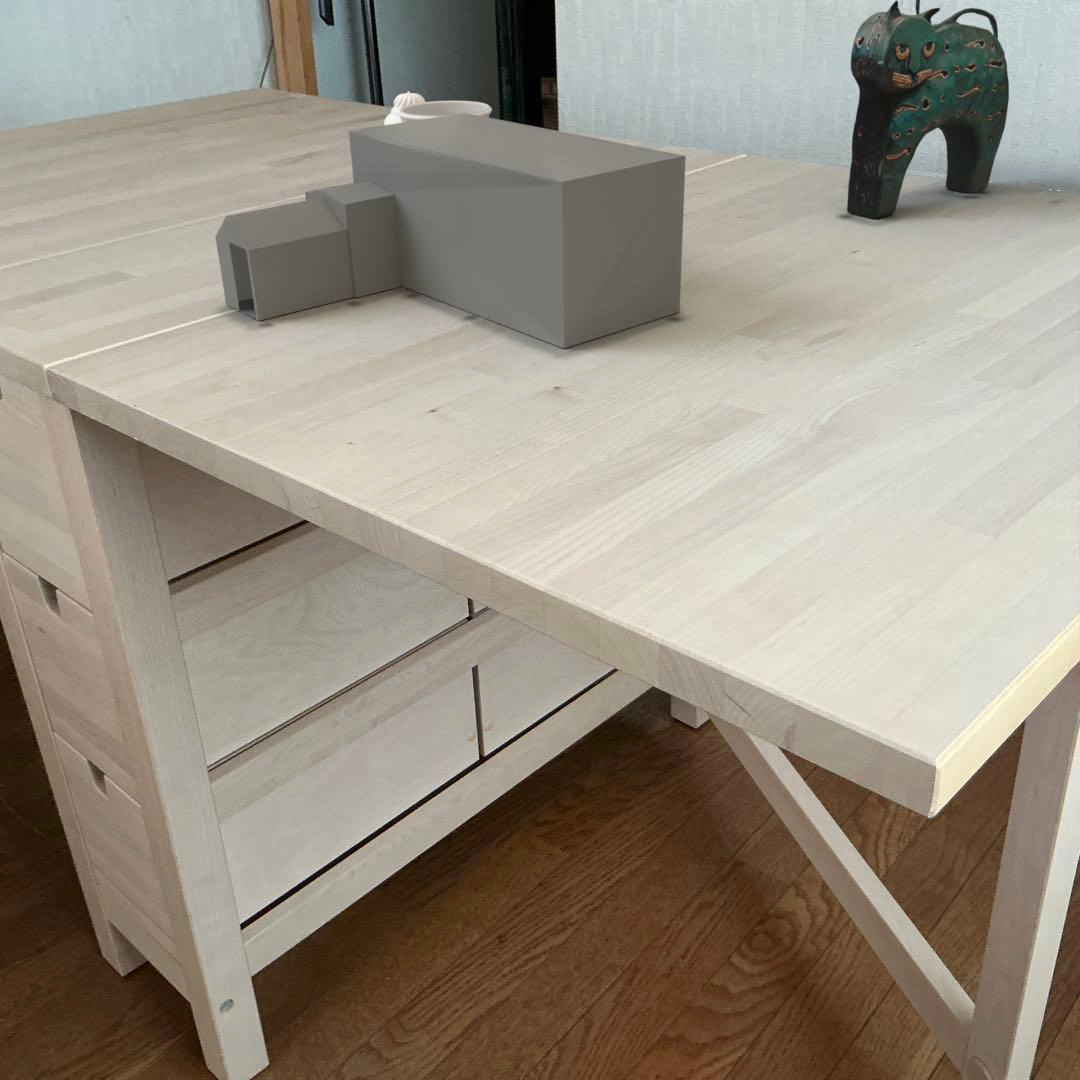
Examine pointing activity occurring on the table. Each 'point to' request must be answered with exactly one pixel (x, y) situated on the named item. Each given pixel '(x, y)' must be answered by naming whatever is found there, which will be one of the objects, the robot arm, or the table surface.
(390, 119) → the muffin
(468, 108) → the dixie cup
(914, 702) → the table surface
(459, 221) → the stepped duct adapter
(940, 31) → the ceramic cat
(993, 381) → the table surface
